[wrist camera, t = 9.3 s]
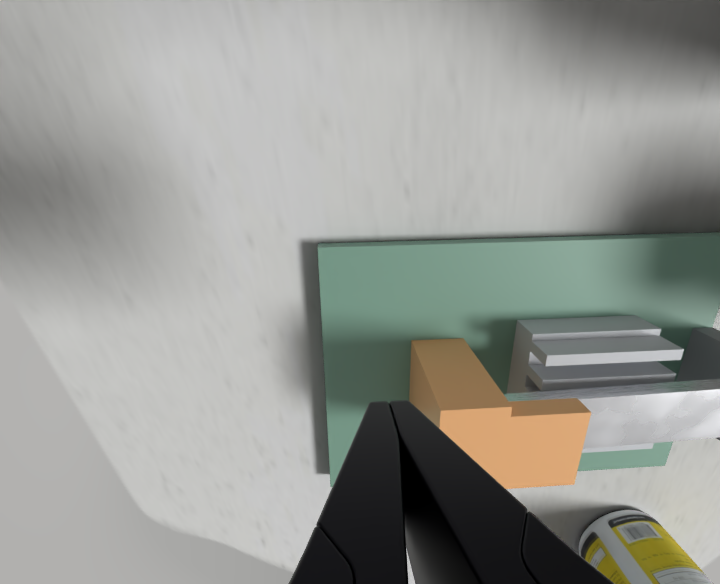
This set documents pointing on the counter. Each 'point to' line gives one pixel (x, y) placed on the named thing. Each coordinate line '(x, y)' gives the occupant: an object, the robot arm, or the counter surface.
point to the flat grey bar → (644, 411)
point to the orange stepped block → (496, 418)
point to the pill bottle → (637, 551)
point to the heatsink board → (520, 319)
